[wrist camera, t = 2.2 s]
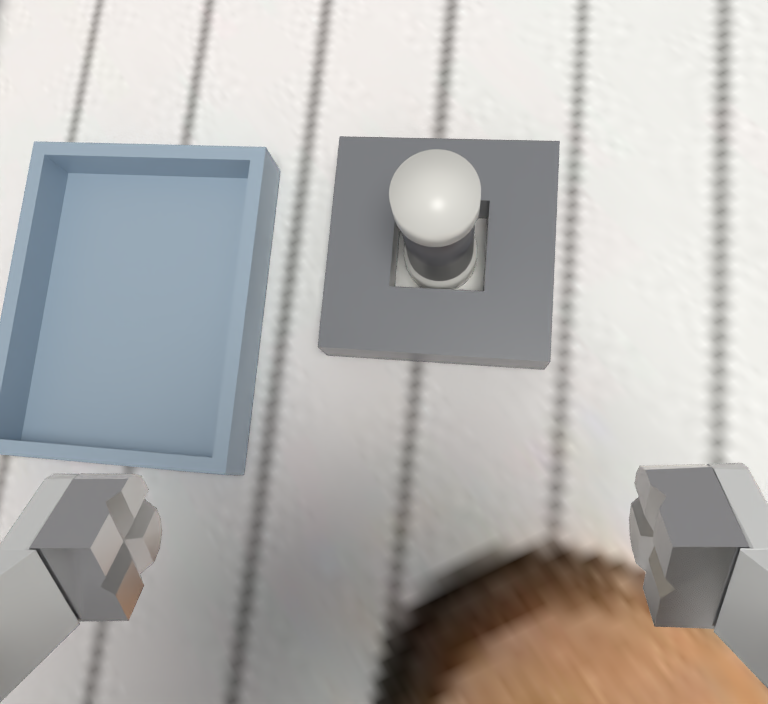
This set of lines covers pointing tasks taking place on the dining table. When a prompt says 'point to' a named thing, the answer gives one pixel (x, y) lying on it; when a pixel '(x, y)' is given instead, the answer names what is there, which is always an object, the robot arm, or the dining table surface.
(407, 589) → the dining table surface
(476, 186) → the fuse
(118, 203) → the parts tray
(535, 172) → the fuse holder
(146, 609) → the dining table surface
